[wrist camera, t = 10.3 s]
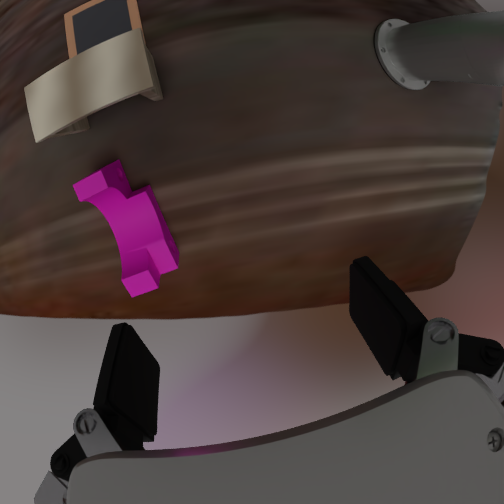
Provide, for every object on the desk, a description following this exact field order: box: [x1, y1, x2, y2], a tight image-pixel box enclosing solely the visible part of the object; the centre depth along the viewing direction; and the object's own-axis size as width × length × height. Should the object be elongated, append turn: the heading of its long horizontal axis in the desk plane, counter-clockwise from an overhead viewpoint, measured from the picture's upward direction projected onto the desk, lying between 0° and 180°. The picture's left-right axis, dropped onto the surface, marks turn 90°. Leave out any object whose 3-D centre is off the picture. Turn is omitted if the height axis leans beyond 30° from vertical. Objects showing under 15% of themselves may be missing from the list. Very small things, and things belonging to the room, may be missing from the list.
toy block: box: [73, 160, 179, 297], centre depth 30 cm, size 15×6×8 cm, turn 15°
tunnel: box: [24, 28, 163, 143], centre depth 20 cm, size 12×6×11 cm, turn 102°
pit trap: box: [64, 0, 146, 58], centre depth 20 cm, size 10×11×1 cm
